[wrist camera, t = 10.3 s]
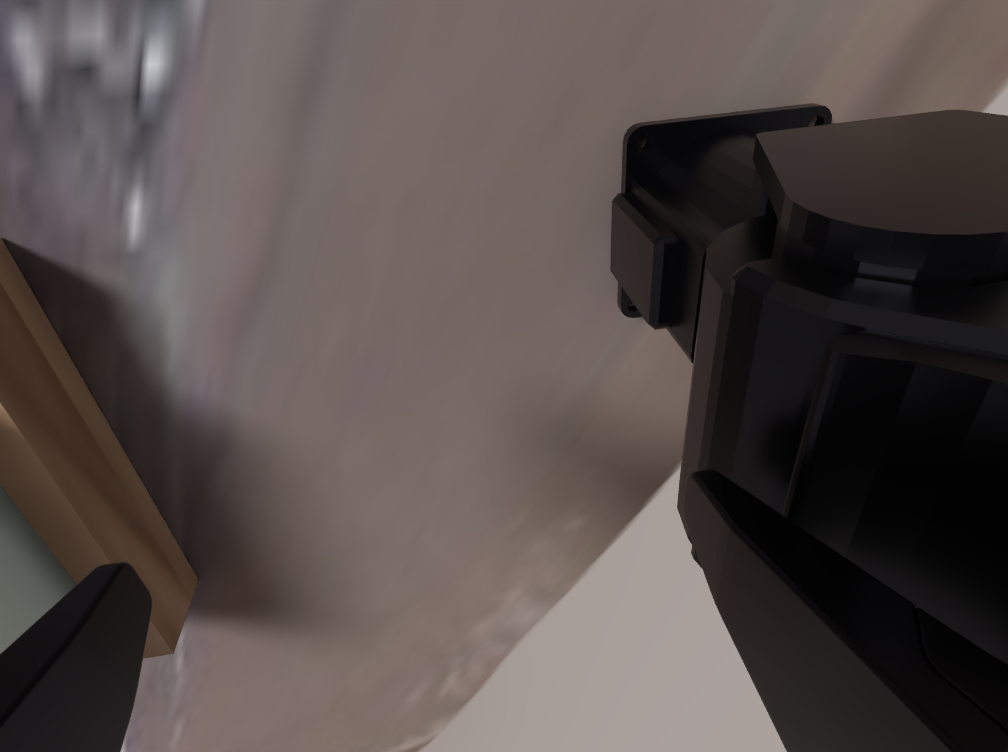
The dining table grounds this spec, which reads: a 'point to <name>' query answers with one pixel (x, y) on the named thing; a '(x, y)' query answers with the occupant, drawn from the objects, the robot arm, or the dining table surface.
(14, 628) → the pale green rectangular block
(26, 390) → the wooden tray
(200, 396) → the dining table surface
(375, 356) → the dining table surface
